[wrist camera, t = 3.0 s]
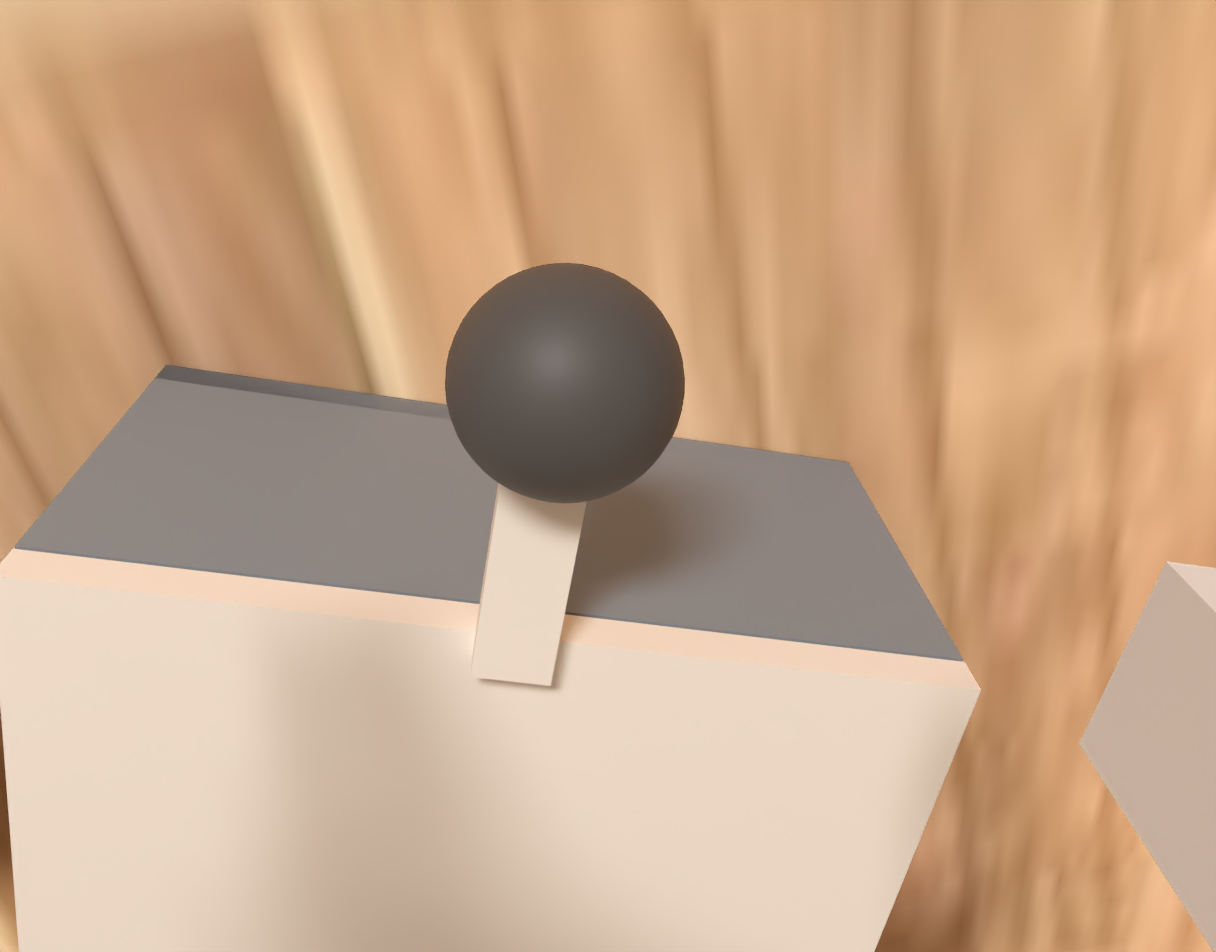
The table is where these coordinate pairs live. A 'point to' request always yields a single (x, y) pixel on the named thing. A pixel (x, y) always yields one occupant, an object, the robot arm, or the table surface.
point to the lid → (461, 720)
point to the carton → (481, 516)
